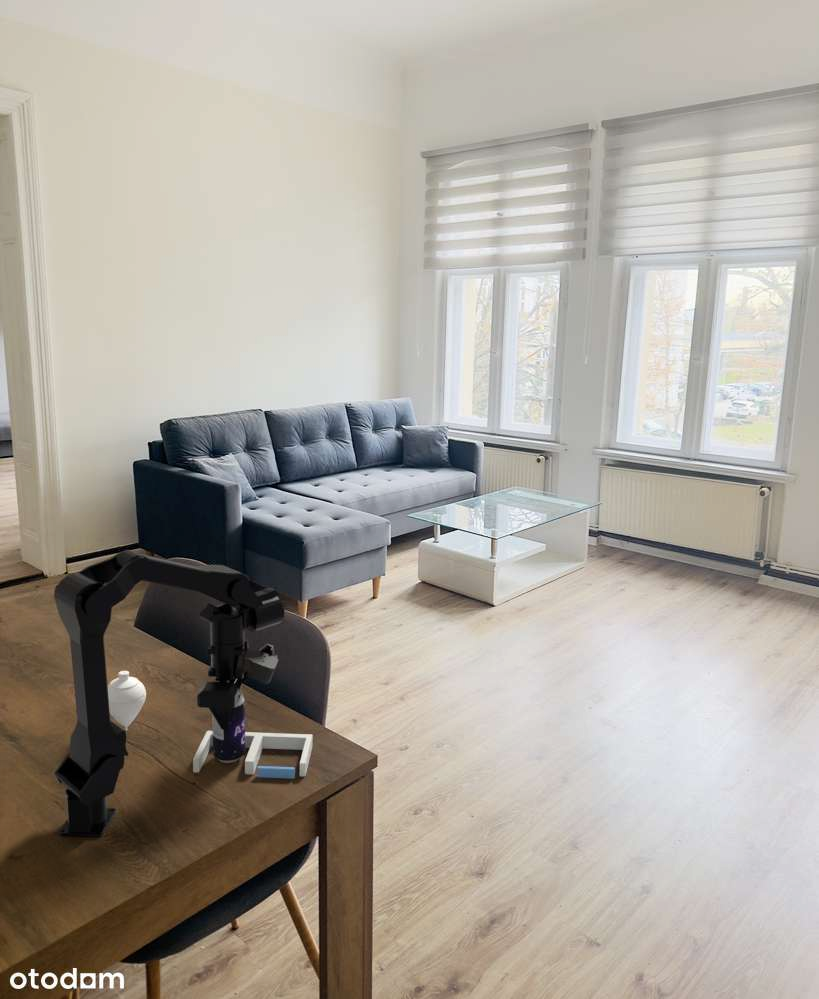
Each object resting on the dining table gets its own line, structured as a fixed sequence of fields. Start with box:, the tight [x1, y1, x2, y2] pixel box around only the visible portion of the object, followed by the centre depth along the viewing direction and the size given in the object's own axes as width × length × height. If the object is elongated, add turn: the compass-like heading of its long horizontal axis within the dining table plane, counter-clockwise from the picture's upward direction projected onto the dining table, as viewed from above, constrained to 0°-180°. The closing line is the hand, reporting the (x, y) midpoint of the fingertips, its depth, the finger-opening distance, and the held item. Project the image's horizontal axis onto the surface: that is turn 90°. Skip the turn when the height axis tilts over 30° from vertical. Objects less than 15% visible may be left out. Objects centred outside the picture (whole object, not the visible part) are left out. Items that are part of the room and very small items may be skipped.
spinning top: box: [108, 670, 147, 732], centre depth 149 cm, size 8×8×12 cm
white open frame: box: [192, 730, 313, 780], centre depth 142 cm, size 10×20×2 cm, turn 90°
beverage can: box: [211, 691, 246, 764], centre depth 141 cm, size 6×6×12 cm
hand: (228, 720), depth 140 cm, fingers closed on beverage can, 6 cm apart
